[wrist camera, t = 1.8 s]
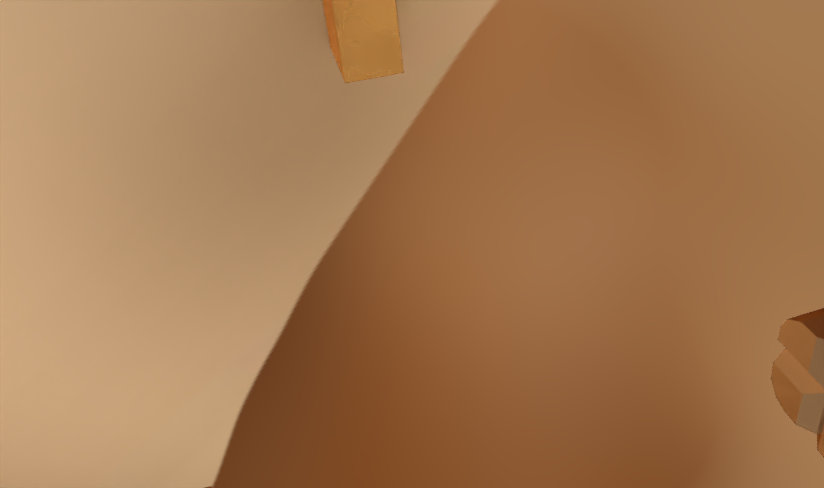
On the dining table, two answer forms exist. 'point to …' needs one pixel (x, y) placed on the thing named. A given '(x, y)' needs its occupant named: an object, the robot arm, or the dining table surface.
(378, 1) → the upright wooden block
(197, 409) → the dining table surface
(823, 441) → the robot arm
